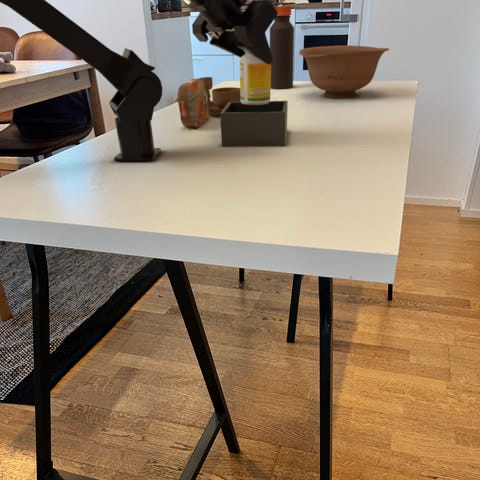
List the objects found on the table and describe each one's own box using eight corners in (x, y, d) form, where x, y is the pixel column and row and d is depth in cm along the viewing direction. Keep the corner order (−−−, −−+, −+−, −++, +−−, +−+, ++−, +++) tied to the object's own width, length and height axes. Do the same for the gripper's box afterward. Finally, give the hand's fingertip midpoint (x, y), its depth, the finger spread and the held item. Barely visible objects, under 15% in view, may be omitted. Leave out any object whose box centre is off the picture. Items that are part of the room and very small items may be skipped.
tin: (193, 131, 96) (189, 85, 91) (178, 131, 96) (173, 85, 92) (211, 116, 108) (209, 75, 103) (198, 116, 109) (195, 75, 104)
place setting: (184, 117, 108) (181, 89, 105) (202, 102, 124) (200, 77, 121) (261, 117, 105) (261, 87, 102) (269, 101, 122) (269, 75, 119)
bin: (285, 145, 84) (285, 112, 81) (221, 146, 85) (220, 113, 82) (287, 131, 93) (287, 100, 90) (230, 132, 94) (228, 101, 91)
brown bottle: (282, 85, 145) (282, 6, 134) (297, 86, 140) (299, 5, 129) (265, 87, 141) (264, 6, 130) (280, 89, 137) (281, 6, 126)
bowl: (304, 104, 116) (305, 53, 110) (292, 91, 134) (293, 46, 128) (394, 100, 116) (401, 49, 110) (370, 87, 134) (375, 42, 128)
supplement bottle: (234, 103, 86) (232, 42, 81) (253, 99, 89) (253, 40, 84) (257, 106, 83) (257, 42, 78) (276, 102, 86) (277, 40, 81)
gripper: (267, -72, 65) (325, 21, 76) (203, -57, 78) (259, 21, 89) (219, -1, 66) (283, 81, 76) (164, 2, 79) (224, 71, 90)
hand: (262, 61), depth 83 cm, fingers closed on supplement bottle, 5 cm apart
